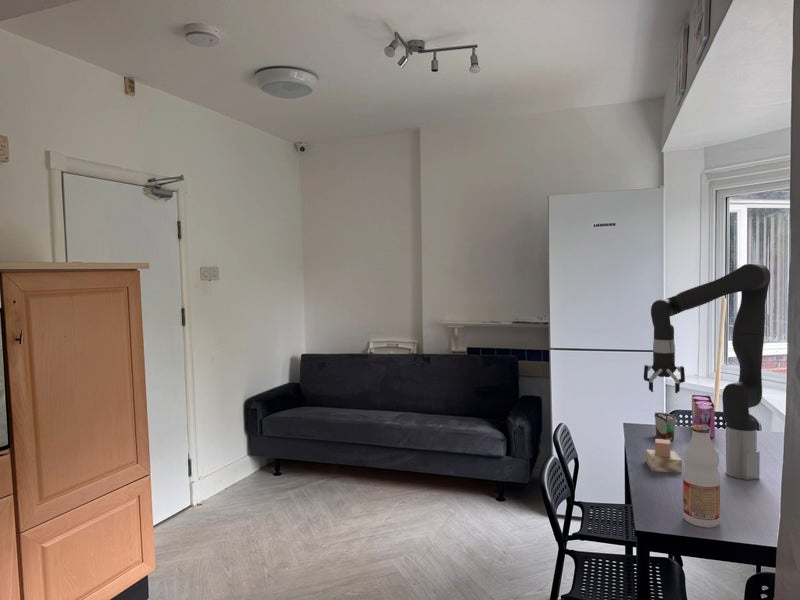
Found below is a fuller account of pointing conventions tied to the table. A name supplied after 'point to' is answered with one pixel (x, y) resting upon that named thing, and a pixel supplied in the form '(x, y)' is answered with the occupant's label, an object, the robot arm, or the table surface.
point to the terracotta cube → (662, 447)
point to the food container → (665, 425)
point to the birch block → (664, 462)
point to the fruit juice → (701, 480)
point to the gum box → (703, 412)
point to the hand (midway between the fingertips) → (663, 392)
